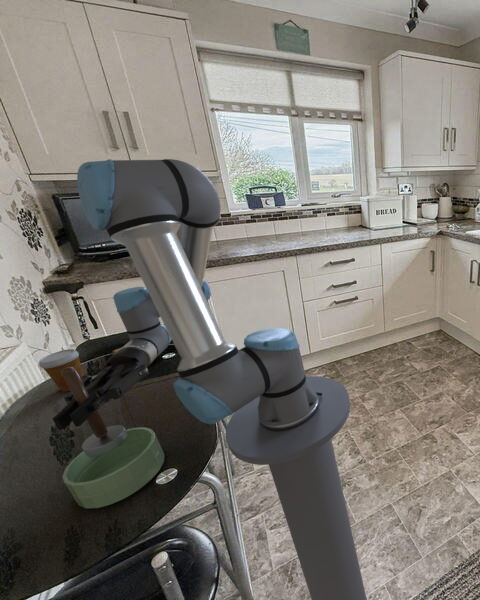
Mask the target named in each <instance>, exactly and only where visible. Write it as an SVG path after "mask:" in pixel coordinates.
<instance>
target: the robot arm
mask: <svg viewBox="0 0 480 600" xmlns="http://www.w3.org/2000/svg"><path fill="white" fill-rule="evenodd" d="M76 182H77V191H78V195H79V200H80V204H81V207H82V210H83V213H84V216H85V218H86V219H87V221H88V223H89V225H90V226H91V227H92V228H93V229H94V230H95V231H96V230H97V231H102V232H103V231H105V230H106V232H107V234H108V236H109V238H110V239H111V241H113V242H115V243H117V244H120V245H123V246H124V247H125V248H126V250H127V252H128V255H129V256H130V258H131V260H132V262H133V264H134V266H135V268H136V270H137V273H138V275H139V276H140V278H141V280H142V282H143V284H144V286H135V287H129V288H126V289H125V288H124V289H122V290H120V291H117V292H116V293H114V295H113V297H112V298H113V299H112V300H113V302H114V305H115V308H116V312H117V314H118V316H119V317H120V319H121V321H122V323H123V325H124V329H125V330H126V332H127V336H128V338H129V341H128V342H127V343H125V344H124V345H123V346H122V347H120V348H121V349H119V348H118V349H119V350H118V351H117V352H116V353H115V354H112V355H111V356H110V357H109V358H108V360H107V361H106V365H105V367H104V368H103V369H101V370H100V371H98V372H97V374H96V375H95V374H94V375H92V376H91V375H89V374H84V376H82V377H81V380H82V382H83V384H84V386H85V388H86V390H87V392H88V394H89V397H88V398H87V399H86V400H85V401H84V402H83V403H82V404H81V405H80V406H79V405H78V403H77V401H76V399H75V398H74V396H73V394H72V392H71V390H70V391H68V393H67V394H66V395H65V396H64V397H63V400H64V401H65V404H66V405H65V406H64V407H63V408H62V409H61V410H60V411H59V412H58V413H57V414H56V415H55V416H54V417H52V421H53V422H54V424H55V426H56V427H57V429H58V431H62V430H65V429H66V428H67V427H68V426H69V425H70V424H71V423H73V425H74V426H75V427H76V428H77V427H80V426H82V425H83V424H84V423H85V422H86V421H87V419H88V418H89V417H90V416H91V414H92V413H93V412H94V411H96V410H97V411H98V410H99V409H100V408H101V407H102V406H104V404H106V403H108V402H110V401H111V400H112V399H113V400H118V399H120V398H121V397H123V396H124V395H125V394H126V393H127V392H128V391H129V390H130V389H132V388H133V387H134V386H135V385H136V384H137V383H138V382H140V381H141V380H142V379H143V378H145V377H147V376H148V375H150V372H149V369H148V367H150V366H151V364H152V363H153V362H154V361H155V360H156V359H157V358H158V357H159V356H160V355H161V354H162V353H163V352H164V351H165V350H166V349H167V348H168V347H169V345H170V343H171V342H172V343H173V345H174V347H175V349H176V351H177V353H178V355H179V357H180V361H179V364H178V366H177V367H176V371H177V373H178V375H179V378H177V379H176V380H175V381H174V383H173V389H174V392H175V394H176V396H177V397H178V399H179V401H180V402H181V403H182V405H183V406H184V407H185V408H186V410H187V411H188V412H189V413H190V414H191V415H193V417H195V418H196V419H197V420H198V421H200V422H201V423H204V424H206V425H214V424H215V425H216V424H218V423H219V422H221V421H222V420H224V419H226V418H227V417H230V416H232V415H233V414H234V413H235V412H236V411H237V410H239V409H240V408H242V407H243V406H245V405H246V404H248V403H249V402H251V401H253V400H254V399H256V398H257V397H259V396H260V400H259V405H258V408H259V411H258V417H259V420H260V423H261V425H262V427H264V428H265V429H267V430H270V431H285V430H290V429H293V428H296V427H298V426H300V425H302V424H304V423H305V422H307V421H308V420H310V419H311V418H312V417H313V416H314V415H315V413H316V412H317V410H318V408H319V400H318V396H322V393H319V392H315V391H314V389H313V388H312V386H311V385H310V383H309V382H308V381H307V379H306V377H307V375H306V372H305V367H304V363H303V358H302V355H301V350H300V344H299V341H298V339H297V338H298V337H297V335H296V333H294V331H292V330H290V329H288V328H283V327H273V328H271V327H270V328H265V329H260V330H256V331H254V332H251V333H249V334H248V335H246V337H244V339H243V345H244V346H243V347H242V348H240V349H238V346H237V344H235V343H233V342H230V341H228V340H226V339H225V336H224V334H223V332H222V330H221V328H220V327H219V326H220V325H219V324H218V321H217V319H216V317H215V314H214V313H213V311H212V309H211V306H210V304H209V302H208V301H209V300H210V298H211V297H212V293H211V287H210V286H209V284H208V282H207V281H206V280H205V274H206V270H207V268H206V267H207V262H208V257H209V251H210V246H211V240H212V234H213V228H214V227H215V226H216V225H218V223H219V222H220V218H221V217H220V216H221V208H222V207H221V200H220V196H219V193H218V191H217V189H216V187H215V185H214V184H213V182H212V181H211V180H210V178H209V177H208V176H207V175H206V174H204V173H203V171H202V170H200V169H199V168H198V167H196V166H194V165H192V164H190V163H189V162H186V161H183V160H180V159H173V158H163V159H116V160H115V159H111V158H110V159H109V158H108V159H106V160H95V161H86V162H83V163H82V164H81V165H80V166H79V167H78V169H77V174H76ZM160 319H161V321H162V323H163V324H162V323H161V321H160ZM317 395H318V396H317Z"/></svg>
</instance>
